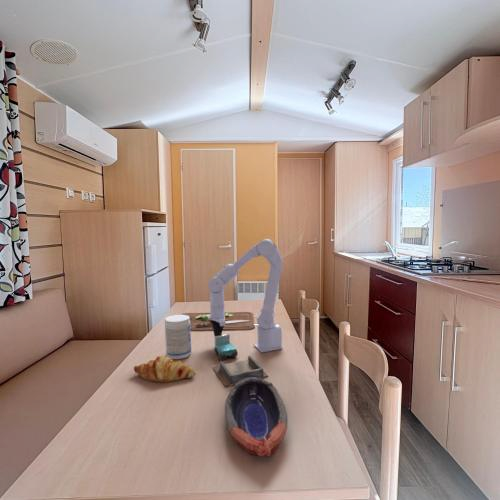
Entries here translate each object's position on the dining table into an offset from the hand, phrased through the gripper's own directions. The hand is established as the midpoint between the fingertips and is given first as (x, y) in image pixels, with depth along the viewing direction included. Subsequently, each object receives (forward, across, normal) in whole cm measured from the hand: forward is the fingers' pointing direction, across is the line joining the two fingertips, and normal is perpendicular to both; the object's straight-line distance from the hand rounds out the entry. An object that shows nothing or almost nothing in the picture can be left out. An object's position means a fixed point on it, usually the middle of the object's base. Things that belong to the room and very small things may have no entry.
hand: (217, 337), depth 126 cm
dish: (+4, +50, -6) cm, 51 cm away
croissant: (+4, +17, -24) cm, 30 cm away
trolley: (+3, +10, 0) cm, 11 cm away
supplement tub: (+4, +2, -16) cm, 17 cm away
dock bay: (+3, +24, 0) cm, 25 cm away
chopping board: (+4, -31, +8) cm, 32 cm away
